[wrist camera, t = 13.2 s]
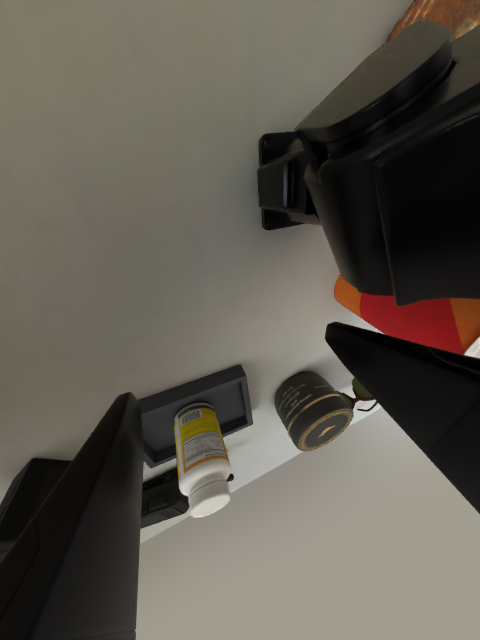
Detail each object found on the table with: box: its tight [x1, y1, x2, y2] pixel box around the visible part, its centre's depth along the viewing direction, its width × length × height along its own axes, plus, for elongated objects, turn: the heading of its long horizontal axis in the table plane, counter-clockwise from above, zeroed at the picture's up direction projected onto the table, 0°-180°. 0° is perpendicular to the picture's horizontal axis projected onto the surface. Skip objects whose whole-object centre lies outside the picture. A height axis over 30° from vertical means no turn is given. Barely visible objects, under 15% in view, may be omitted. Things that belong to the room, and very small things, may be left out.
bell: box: [386, 0, 480, 43], centre depth 14 cm, size 12×12×7 cm
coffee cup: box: [334, 275, 480, 358], centre depth 20 cm, size 8×8×15 cm
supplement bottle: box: [174, 403, 231, 518], centre depth 23 cm, size 6×6×10 cm
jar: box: [275, 372, 353, 451], centre depth 31 cm, size 10×10×8 cm
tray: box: [138, 365, 253, 468], centre depth 27 cm, size 16×12×2 cm
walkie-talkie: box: [140, 469, 234, 529], centre depth 32 cm, size 6×6×20 cm
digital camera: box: [0, 459, 71, 563], centre depth 23 cm, size 10×5×7 cm, turn 43°
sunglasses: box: [336, 378, 378, 411], centre depth 42 cm, size 14×15×5 cm
